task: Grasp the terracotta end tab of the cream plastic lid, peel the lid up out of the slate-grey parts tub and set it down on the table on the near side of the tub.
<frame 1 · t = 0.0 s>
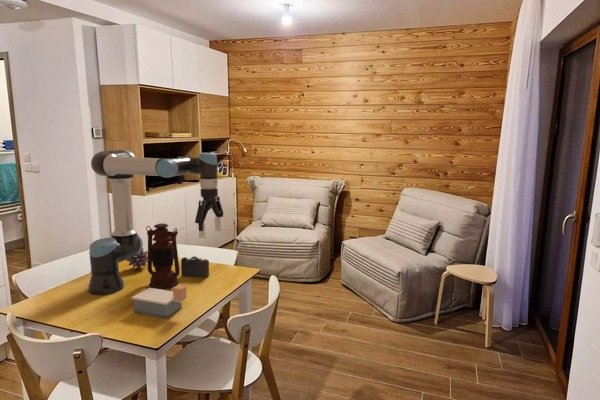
hand: (210, 234, 184), 28 cm above the table, fingers open, 13 cm apart
lantern: (164, 284, 198), on the table
purple spiky ball: (138, 269, 220), on the table
lid: (157, 296, 169), point 6 cm above the table, touching tub
tub: (158, 310, 170), on the table
camera: (197, 274, 213), on the table
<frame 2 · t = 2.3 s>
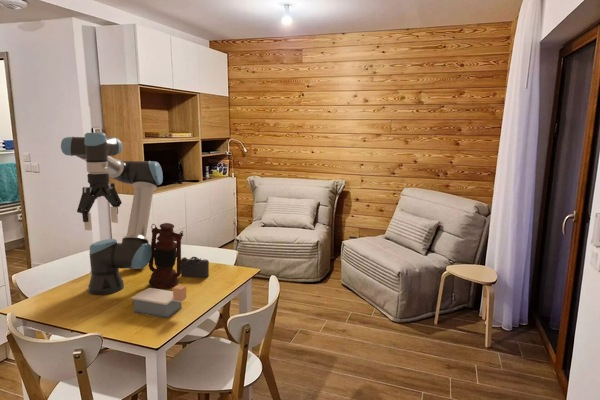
hand: (102, 226, 161), 37 cm above the table, fingers open, 13 cm apart
lantern: (164, 282, 198), point 1 cm above the table, touching arm
everything else where it was.
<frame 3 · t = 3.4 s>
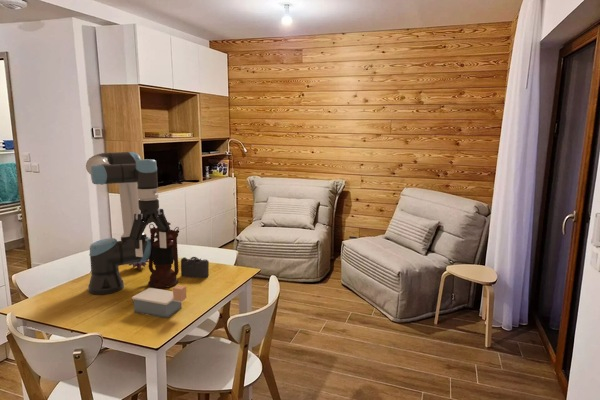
hand: (151, 252, 161), 27 cm above the table, fingers open, 13 cm apart
lantern: (163, 283, 198), on the table, touching arm
everything else where it was.
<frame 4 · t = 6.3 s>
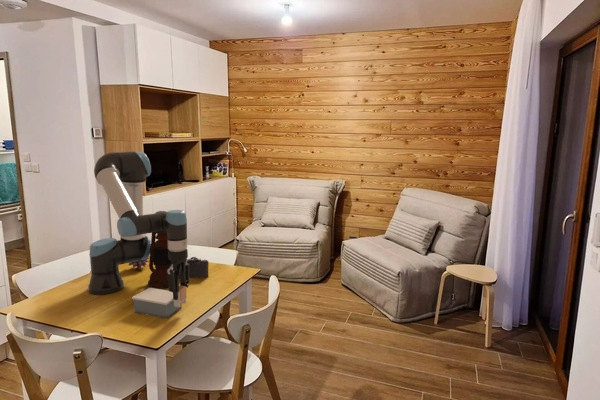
hand: (180, 304, 166), 4 cm above the table, fingers closed on lid, 3 cm apart
lid: (157, 296, 169), point 6 cm above the table, touching gripper, tub
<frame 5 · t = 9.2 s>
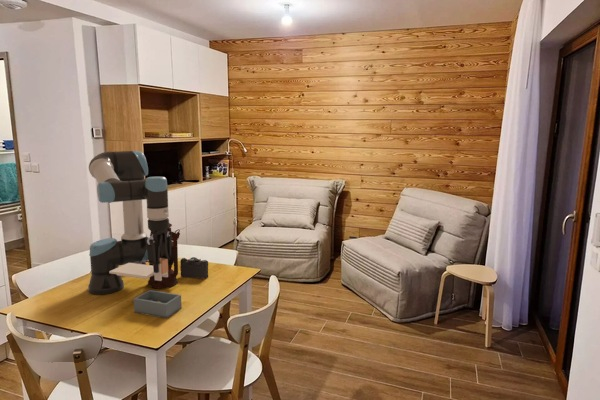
hand: (161, 278, 155), 19 cm above the table, fingers closed on lid, 3 cm apart
lantern: (162, 282, 199), point 1 cm above the table
lid: (137, 271, 158), point 20 cm above the table, touching gripper
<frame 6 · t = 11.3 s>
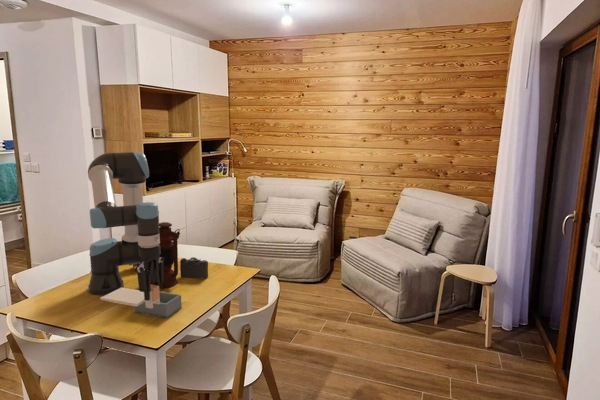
hand: (152, 305, 152), 10 cm above the table, fingers closed on lid, 3 cm apart
lantern: (162, 283, 199), on the table, touching arm
lid: (128, 297, 155), point 11 cm above the table, touching gripper
when the fingers open (2 cm above the table, at t = 13.0 s): lid drops 2 cm, point 1 cm above the table.
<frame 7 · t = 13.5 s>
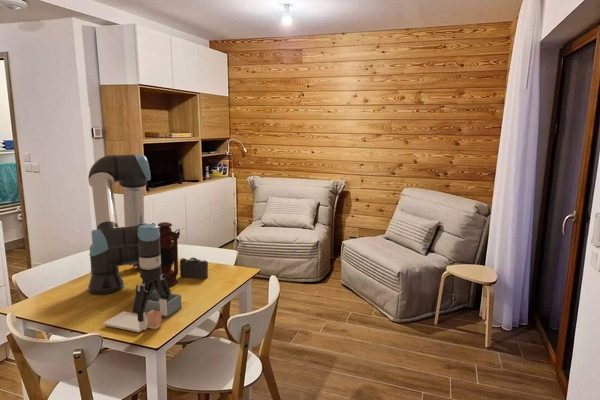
hand: (153, 321, 153), 3 cm above the table, fingers open, 11 cm apart
lid: (130, 322, 157), point 1 cm above the table
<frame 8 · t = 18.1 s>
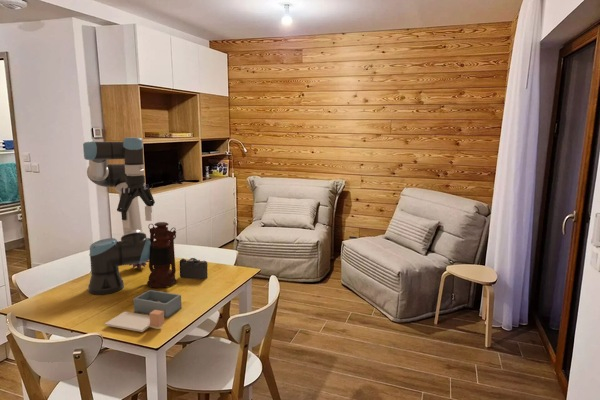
hand: (137, 224, 174), 35 cm above the table, fingers open, 13 cm apart
at the end: lid inside the target area (2.3 cm from its centre), point 1.0 cm above the table; lid touching table; the gripper is holding nothing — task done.
